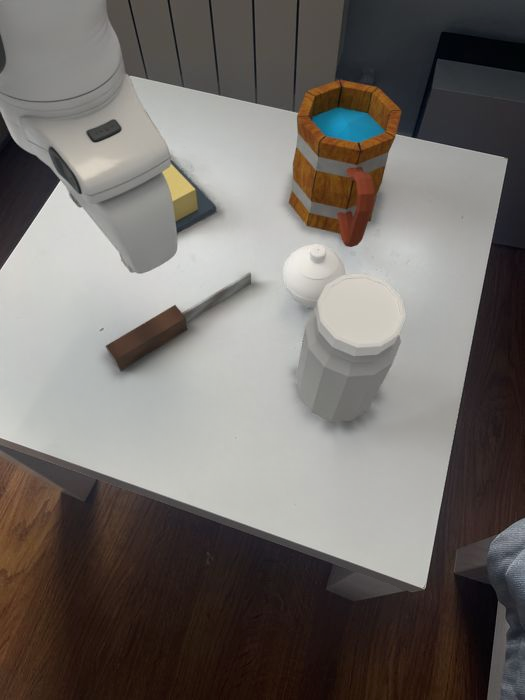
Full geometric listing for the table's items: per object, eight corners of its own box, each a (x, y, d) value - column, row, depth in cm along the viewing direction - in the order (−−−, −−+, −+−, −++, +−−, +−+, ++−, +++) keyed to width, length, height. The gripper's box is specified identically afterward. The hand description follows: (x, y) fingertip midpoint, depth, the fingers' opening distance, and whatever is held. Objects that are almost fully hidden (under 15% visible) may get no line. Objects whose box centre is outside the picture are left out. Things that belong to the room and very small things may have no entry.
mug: (282, 170, 84) (289, 82, 71) (367, 164, 85) (389, 76, 72) (302, 271, 74) (314, 192, 61) (397, 263, 75) (428, 183, 62)
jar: (278, 391, 66) (288, 312, 50) (326, 339, 69) (349, 249, 53) (343, 441, 63) (375, 374, 47) (389, 384, 66) (433, 303, 51)
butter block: (169, 225, 76) (165, 205, 73) (142, 195, 79) (138, 175, 75) (198, 209, 78) (195, 189, 74) (171, 181, 80) (168, 160, 77)
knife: (120, 371, 66) (115, 360, 64) (110, 357, 67) (105, 345, 65) (255, 288, 73) (256, 275, 70) (245, 276, 74) (245, 263, 71)
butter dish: (159, 243, 76) (157, 237, 75) (102, 177, 82) (100, 171, 81) (216, 211, 79) (216, 206, 78) (158, 150, 85) (156, 144, 84)
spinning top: (269, 295, 72) (273, 235, 62) (320, 276, 74) (332, 216, 64) (294, 340, 69) (303, 286, 59) (346, 320, 71) (364, 263, 60)
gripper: (-40, 39, 40) (25, 179, 52) (97, 205, 33) (136, 323, 45) (38, 12, 42) (83, 153, 54) (184, 162, 35) (198, 286, 47)
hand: (108, 231), depth 50 cm, fingers open, 8 cm apart
